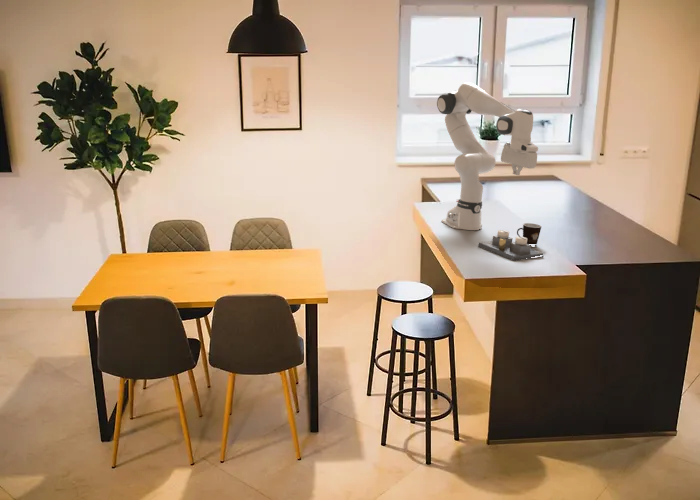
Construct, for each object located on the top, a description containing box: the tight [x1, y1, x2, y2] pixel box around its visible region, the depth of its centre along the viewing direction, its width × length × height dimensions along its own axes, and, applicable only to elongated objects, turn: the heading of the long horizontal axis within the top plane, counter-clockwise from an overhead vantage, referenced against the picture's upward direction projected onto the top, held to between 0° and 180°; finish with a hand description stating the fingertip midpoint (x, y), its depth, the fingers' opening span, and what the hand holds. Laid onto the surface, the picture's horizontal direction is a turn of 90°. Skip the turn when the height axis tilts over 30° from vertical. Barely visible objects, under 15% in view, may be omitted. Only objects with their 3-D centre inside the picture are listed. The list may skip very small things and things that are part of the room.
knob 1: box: [496, 229, 510, 238], centre depth 338 cm, size 5×5×6 cm
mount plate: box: [477, 235, 544, 262], centre depth 334 cm, size 24×18×6 cm
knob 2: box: [514, 236, 527, 245], centre depth 328 cm, size 5×5×6 cm
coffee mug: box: [516, 222, 542, 245], centre depth 348 cm, size 12×9×10 cm
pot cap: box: [499, 238, 506, 250], centre depth 331 cm, size 3×3×5 cm
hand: (516, 174), depth 337 cm, fingers closed
